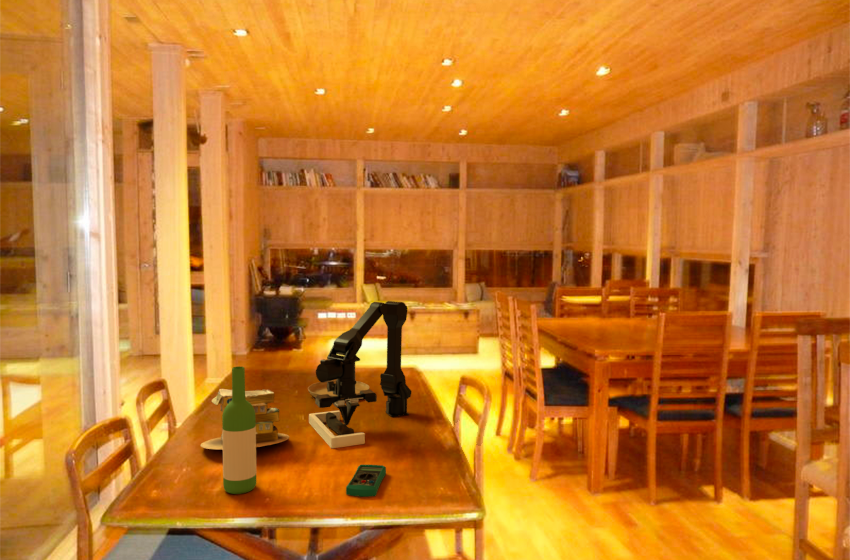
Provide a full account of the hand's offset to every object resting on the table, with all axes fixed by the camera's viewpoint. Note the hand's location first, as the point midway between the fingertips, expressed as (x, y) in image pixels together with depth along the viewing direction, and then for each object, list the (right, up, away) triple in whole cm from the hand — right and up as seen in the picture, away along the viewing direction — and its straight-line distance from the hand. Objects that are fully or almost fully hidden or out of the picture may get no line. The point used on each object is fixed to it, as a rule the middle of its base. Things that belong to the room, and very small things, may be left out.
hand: (346, 424), depth 190 cm
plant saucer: (-9, 0, +45) cm, 46 cm away
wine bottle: (-20, -5, -44) cm, 49 cm away
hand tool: (-3, -3, -1) cm, 4 cm away
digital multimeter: (+11, -5, -41) cm, 43 cm away
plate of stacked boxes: (-28, -3, -14) cm, 31 cm away
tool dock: (-3, -2, -1) cm, 4 cm away
